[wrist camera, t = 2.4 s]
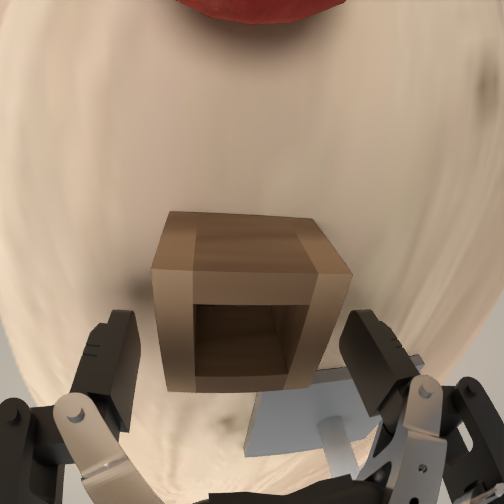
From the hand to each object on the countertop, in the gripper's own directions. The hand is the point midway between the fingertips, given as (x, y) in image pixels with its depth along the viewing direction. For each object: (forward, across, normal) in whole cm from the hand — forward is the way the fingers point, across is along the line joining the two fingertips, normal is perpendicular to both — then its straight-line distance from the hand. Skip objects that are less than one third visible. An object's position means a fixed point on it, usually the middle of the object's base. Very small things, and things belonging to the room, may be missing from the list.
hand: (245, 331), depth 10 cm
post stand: (+3, -8, +12) cm, 15 cm away
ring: (+3, 0, 0) cm, 3 cm away
